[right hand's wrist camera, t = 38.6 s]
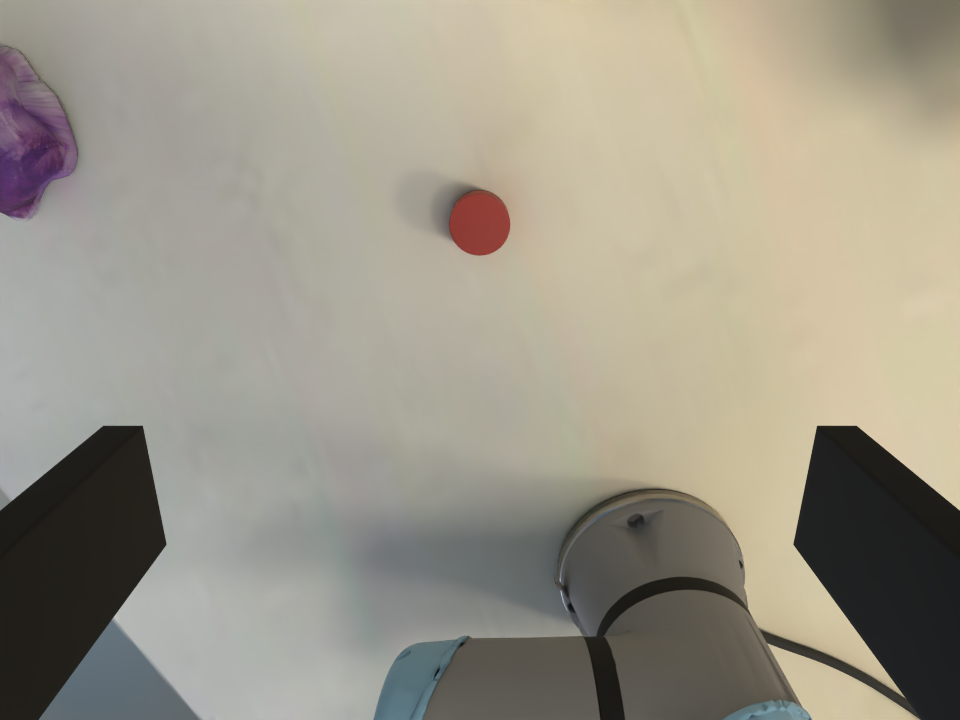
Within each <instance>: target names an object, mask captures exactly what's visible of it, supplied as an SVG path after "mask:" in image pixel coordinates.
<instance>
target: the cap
mask: <svg viewBox="0 0 960 720" xmlns="http://www.w3.org/2000/svg"><path fill="white" fill-rule="evenodd" d="M449 228H450V233H451V236H452V238H453V240H454V242H455V243H456V244H457V246H458V247H459V248H461V249H462V250H463V251H465V252H467V253H469V254H473V255H487V254H490V253H492V252H494V251H496V250H498V249H499V248H500V247H501V246H502V245H503V244H504V242H505V241H506V239H507V237H508V234H509V231H510V219H509V215H508V212H507V209H506V206H505V205H504V203H503V202H502V200H501V199H500V198H499V197H497V196H496V195H494V194H493V193H490V192H488V191H482V190H477V191H472V192H469V193H467V194H465V195H463V196H462V197H461V198H460V199H459V200H458V201H457V202H456V204H455V205H454V207H453V210H452V213H451V216H450V222H449Z"/></svg>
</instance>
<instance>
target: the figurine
mask: <svg viewBox="0 0 960 720" xmlns="http://www.w3.org/2000/svg"><path fill="white" fill-rule="evenodd" d="M77 156H78V153H77V146H76V143H75V140H74V137H73V134H72V131H71V128H70V125H69V123H68V120H67V117H66V114H65V112H64V110H63V108H62V106H61V104H60V102H59V100H58V97H57V96H56V95H55V94H54V93H53V92H52V91H51V90H50V89H49V88H48V87H47V86H46V85H45V84H44V82H42V81H40V80H39V79H38V77H37V75H36V74H35V73H34V71H33V70H32V67H31V66H30V65H29V63H28V61H27V60H26V58H25V57H24V56H23V55H22V54H21V53H20V52H19V51H18V50H16V49H14V48H12V49H11V48H10V47H1V48H0V212H1V213H3V214H5V215H7V216H9V217H11V218H13V219H15V220H18V221H28V220H30V219H32V218H33V217H34V216H35V215H36V213H37V211H38V207H39V203H40V200H41V198H42V195H43V192H44V190H45V188H46V186H47V185H48V184H49V183H50V182H51V181H52V180H54V179H59V178H63V177H66V176H69V175H70V174H71V173H72V172H73V171H74V169H75V166H76V162H77Z"/></svg>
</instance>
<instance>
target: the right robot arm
mask: <svg viewBox="0 0 960 720" xmlns="http://www.w3.org/2000/svg"><path fill="white" fill-rule="evenodd" d="M165 546H166V540H165V535H164V530H163V525H162V520H161V515H160V510H159V505H158V500H157V495H156V490H155V484H154V479H153V474H152V469H151V464H150V459H149V454H148V449H147V444H146V439H145V434H144V429H143V426H103V427H101V428H100V429H99V430H98V431H97V432H95V433H94V434H93V435H92V436H91V437H89V438H88V439H87V440H86V441H84V442H83V443H82V444H81V445H80V446H78V447H77V448H76V449H75V450H73V451H72V452H71V453H70V454H69V455H67V456H66V457H65V458H64V459H63V460H61V461H60V462H59V463H58V464H56V465H55V466H54V467H53V468H52V469H50V470H49V471H48V472H47V473H46V474H44V475H43V476H42V477H41V478H39V479H38V480H37V481H36V482H35V483H33V484H32V485H31V486H30V487H29V488H27V489H26V490H25V491H24V492H22V493H21V494H20V495H19V496H18V497H16V498H15V499H14V500H13V501H11V502H10V503H9V504H8V505H7V506H5V507H4V508H3V509H2V510H1V511H0V720H39V718H40V717H41V716H42V714H43V713H44V711H45V710H46V709H47V707H48V706H49V704H50V703H51V702H52V700H53V699H54V698H55V696H56V695H57V693H58V692H59V691H60V689H61V688H62V687H63V685H64V684H65V683H66V681H67V680H68V679H69V677H70V676H71V675H72V673H73V672H74V670H75V669H76V668H77V666H78V665H79V664H80V662H81V661H82V659H83V658H84V657H85V655H86V654H87V653H88V651H89V650H90V649H91V647H92V646H93V644H94V643H95V642H96V640H97V639H98V638H99V636H100V635H101V634H102V632H103V631H104V629H105V628H106V627H107V625H108V624H109V623H110V621H111V620H112V618H113V617H114V616H115V614H116V613H117V612H118V610H119V609H120V608H121V606H122V605H123V603H124V602H125V601H126V599H127V598H128V597H129V595H130V594H131V593H132V591H133V590H134V588H135V587H136V586H137V584H138V583H139V582H140V580H141V579H142V577H143V576H144V575H145V573H146V572H147V571H148V569H149V568H150V567H151V565H152V564H153V562H154V561H155V560H156V558H157V557H158V556H159V554H160V553H161V552H162V550H163V549H164V547H165ZM794 546H795V547H796V549H797V550H798V552H799V553H800V554H801V556H802V557H803V558H804V560H805V561H806V562H807V564H808V565H809V567H810V568H811V569H812V571H813V572H814V573H815V575H816V576H817V577H818V579H819V580H820V582H821V583H822V584H823V586H824V587H825V588H826V590H827V591H828V593H829V594H830V595H831V597H832V598H833V599H834V601H835V602H836V603H837V605H838V606H839V608H840V609H841V610H842V612H843V613H844V614H845V616H846V617H847V618H848V620H849V621H850V623H851V624H852V625H853V627H854V628H855V629H856V631H857V632H858V634H859V635H860V636H861V638H862V639H863V640H864V642H865V643H866V644H867V646H868V647H869V649H870V650H871V651H872V653H873V654H874V655H875V657H876V658H877V659H878V661H879V662H880V664H881V665H882V666H883V668H884V669H885V670H886V672H887V673H888V675H889V676H890V677H891V679H892V680H893V681H894V683H895V684H896V685H897V687H898V688H899V690H900V691H901V692H902V694H903V695H904V696H905V698H906V699H907V700H906V699H905V698H903V697H902V696H900V695H899V694H897V693H896V692H894V691H893V690H891V689H890V688H888V687H886V686H885V685H883V684H882V683H880V682H878V681H877V680H875V679H874V678H872V677H870V676H868V675H867V674H865V673H863V672H861V671H859V670H857V669H855V668H853V667H851V666H849V665H847V664H845V663H843V662H841V661H839V660H837V659H835V658H832V657H830V656H827V655H825V654H823V653H820V652H817V651H815V650H812V649H809V648H806V647H804V646H801V645H798V644H795V643H792V642H789V641H786V640H784V639H781V638H778V637H775V636H773V635H770V634H768V633H765V632H763V631H760V630H759V628H758V626H757V625H756V623H755V621H754V619H753V618H752V616H751V614H750V612H749V610H748V605H747V596H746V592H745V589H744V583H745V570H744V562H743V557H742V553H741V550H740V547H739V545H738V542H737V540H736V539H735V537H734V535H733V533H732V532H731V530H730V529H729V527H728V525H727V524H726V522H725V521H724V520H723V518H722V517H721V516H720V515H719V514H718V513H717V512H716V511H715V510H714V509H712V508H711V507H710V506H708V505H707V504H705V503H704V502H702V501H700V500H698V499H696V498H694V497H691V496H689V495H686V494H682V493H678V492H673V491H666V490H644V491H637V492H632V493H627V494H624V495H621V496H618V497H615V498H613V499H610V500H608V501H606V502H604V503H602V504H600V505H599V506H597V507H596V508H594V509H593V510H591V511H590V512H589V513H587V514H586V515H585V516H584V517H583V518H582V519H581V520H580V521H579V522H578V523H577V524H576V525H575V526H574V528H573V529H572V530H571V532H570V533H569V535H568V536H567V538H566V540H565V542H564V544H563V546H562V549H561V552H560V556H559V561H558V579H559V580H558V579H557V578H556V577H555V575H554V579H555V584H556V585H557V586H558V587H559V589H560V591H561V596H562V600H563V603H564V605H565V608H566V609H567V611H568V613H569V615H570V617H571V619H572V620H573V622H574V623H575V625H576V626H577V627H578V628H579V630H580V632H581V633H582V635H583V636H584V637H583V636H574V637H539V638H471V637H469V636H462V637H460V638H458V639H456V640H447V641H434V642H421V643H416V644H413V645H411V646H409V647H407V648H406V649H405V650H403V651H402V652H401V653H400V654H399V656H398V657H397V658H396V659H395V661H394V663H393V665H392V667H391V668H390V670H389V672H388V674H387V677H386V679H385V682H384V685H383V688H382V690H381V694H380V697H379V701H378V704H377V708H376V712H375V716H374V720H812V719H811V717H810V715H809V714H808V712H807V711H806V710H805V709H803V707H802V706H801V704H800V702H799V700H798V698H797V697H796V695H795V693H794V691H793V689H792V688H791V686H790V684H789V682H788V680H787V679H786V677H785V675H784V673H783V671H782V670H781V668H780V666H779V664H778V662H777V661H776V659H775V657H774V655H773V653H772V652H771V650H770V648H769V646H768V644H771V645H773V646H776V647H779V648H782V649H784V650H787V651H790V652H793V653H796V654H799V655H802V656H805V657H807V658H810V659H813V660H816V661H818V662H821V663H823V664H826V665H828V666H831V667H833V668H835V669H837V670H839V671H842V672H844V673H846V674H848V675H850V676H852V677H854V678H856V679H858V680H859V681H861V682H863V683H865V684H867V685H868V686H870V687H872V688H874V689H875V690H877V691H878V692H880V693H882V694H883V695H885V696H886V697H888V698H889V699H891V700H893V701H894V702H896V703H897V704H899V705H900V706H902V707H903V708H905V709H906V710H908V711H909V712H910V713H912V714H913V715H915V716H916V717H918V718H919V719H920V720H960V511H959V510H958V509H957V508H956V507H955V506H953V505H952V504H951V503H950V502H949V501H947V500H946V499H945V498H944V497H942V496H941V495H940V494H939V493H938V492H936V491H935V490H934V489H933V488H931V487H930V486H929V485H928V484H927V483H925V482H924V481H923V480H922V479H921V478H919V477H918V476H917V475H916V474H914V473H913V472H912V471H911V470H910V469H908V468H907V467H906V466H905V465H904V464H902V463H901V462H900V461H899V460H897V459H896V458H895V457H894V456H893V455H891V454H890V453H889V452H888V451H887V450H885V449H884V448H883V447H882V446H880V445H879V444H878V443H877V442H876V441H874V440H873V439H872V438H871V437H869V436H868V435H867V434H866V433H865V432H863V431H862V430H861V429H860V428H859V427H857V426H817V429H816V434H815V439H814V444H813V449H812V454H811V459H810V464H809V469H808V474H807V479H806V484H805V489H804V495H803V500H802V505H801V510H800V515H799V520H798V525H797V530H796V535H795V540H794ZM767 643H768V644H767Z"/></svg>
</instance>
